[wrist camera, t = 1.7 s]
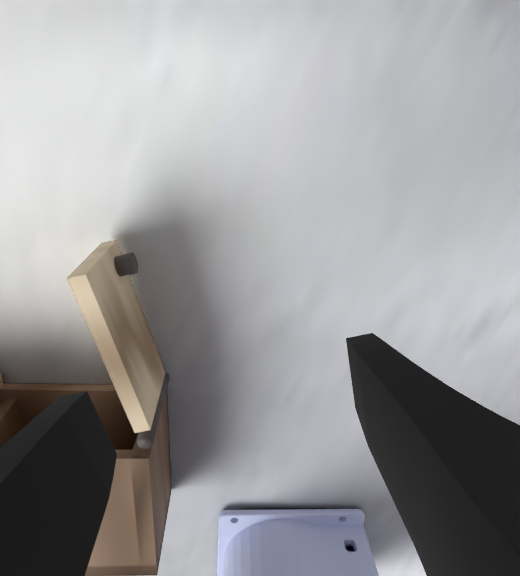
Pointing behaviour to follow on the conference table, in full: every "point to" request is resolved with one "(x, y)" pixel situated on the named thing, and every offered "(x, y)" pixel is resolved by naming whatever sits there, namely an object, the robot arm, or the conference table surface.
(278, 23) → the conference table surface
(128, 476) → the box
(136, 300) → the left door
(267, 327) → the conference table surface
